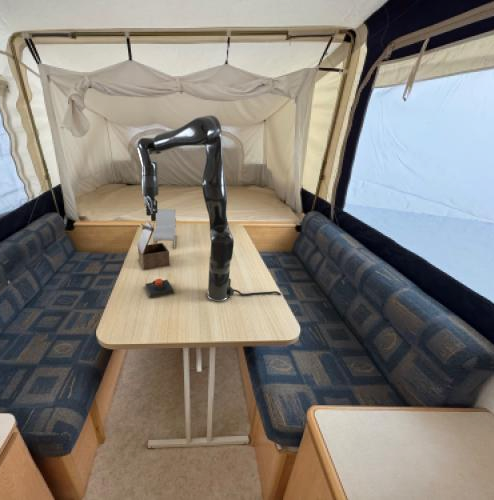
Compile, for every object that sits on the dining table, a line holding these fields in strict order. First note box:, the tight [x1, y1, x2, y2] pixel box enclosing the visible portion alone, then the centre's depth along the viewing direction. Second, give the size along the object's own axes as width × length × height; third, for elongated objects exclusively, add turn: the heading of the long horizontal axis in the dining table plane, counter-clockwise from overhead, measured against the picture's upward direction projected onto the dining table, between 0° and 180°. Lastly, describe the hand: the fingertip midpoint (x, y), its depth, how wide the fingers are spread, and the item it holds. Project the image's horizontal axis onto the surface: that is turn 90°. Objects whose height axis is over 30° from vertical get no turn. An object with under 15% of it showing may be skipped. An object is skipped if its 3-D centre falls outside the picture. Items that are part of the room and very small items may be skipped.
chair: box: [152, 208, 177, 249], centre depth 174 cm, size 13×25×20 cm, turn 1°
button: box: [154, 278, 164, 286], centre depth 125 cm, size 4×4×2 cm
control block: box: [144, 279, 174, 299], centre depth 126 cm, size 11×9×4 cm
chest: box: [137, 242, 170, 271], centre depth 150 cm, size 15×13×9 cm
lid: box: [137, 220, 155, 255], centre depth 142 cm, size 15×13×5 cm
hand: (150, 218), depth 129 cm, fingers open, 8 cm apart
